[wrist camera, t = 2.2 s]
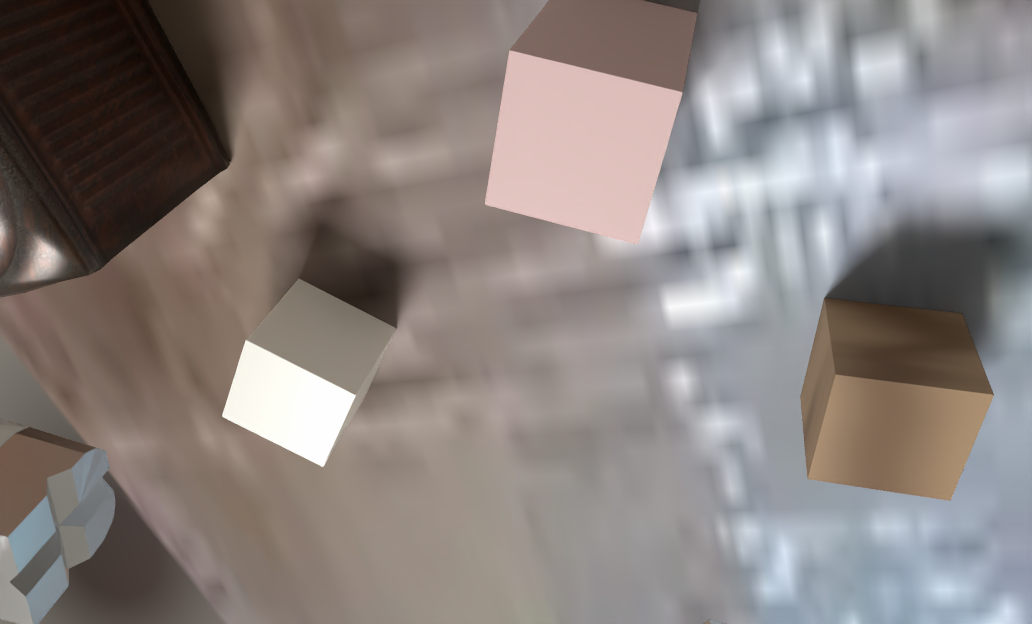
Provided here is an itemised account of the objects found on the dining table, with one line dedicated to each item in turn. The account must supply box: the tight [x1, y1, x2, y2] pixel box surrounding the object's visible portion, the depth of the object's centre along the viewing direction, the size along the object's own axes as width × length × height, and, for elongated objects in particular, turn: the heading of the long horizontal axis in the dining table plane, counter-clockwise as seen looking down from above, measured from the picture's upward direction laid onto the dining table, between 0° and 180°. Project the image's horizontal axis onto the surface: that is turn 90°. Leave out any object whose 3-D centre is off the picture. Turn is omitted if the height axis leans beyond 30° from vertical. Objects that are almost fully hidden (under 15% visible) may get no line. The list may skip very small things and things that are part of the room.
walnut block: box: [800, 298, 994, 501], centre depth 31 cm, size 5×5×5 cm
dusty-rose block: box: [485, 0, 697, 244], centre depth 26 cm, size 5×5×8 cm
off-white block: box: [222, 279, 397, 467], centre depth 37 cm, size 5×5×5 cm
